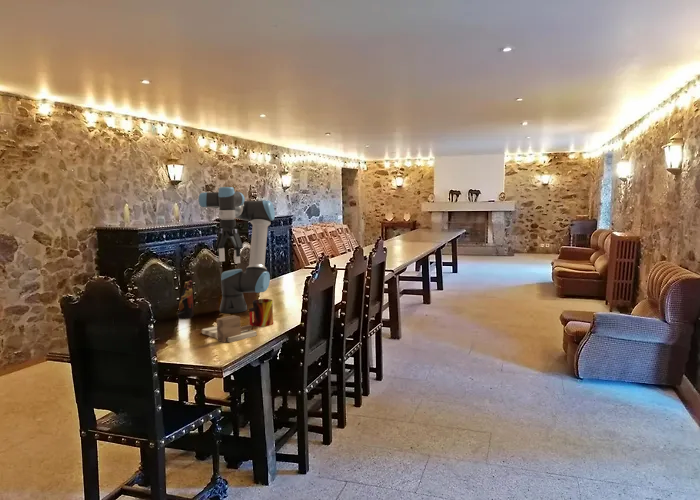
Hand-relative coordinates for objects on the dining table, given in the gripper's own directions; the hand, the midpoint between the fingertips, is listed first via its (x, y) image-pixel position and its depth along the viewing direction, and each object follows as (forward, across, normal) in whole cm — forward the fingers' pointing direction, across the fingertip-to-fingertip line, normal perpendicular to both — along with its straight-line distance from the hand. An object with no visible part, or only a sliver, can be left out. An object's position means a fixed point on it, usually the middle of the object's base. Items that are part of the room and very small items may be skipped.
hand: (229, 262), depth 241 cm
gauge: (+31, +21, -12) cm, 40 cm away
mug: (+32, +11, +10) cm, 35 cm away
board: (+32, +13, -10) cm, 36 cm away
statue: (+32, -36, -6) cm, 48 cm away
